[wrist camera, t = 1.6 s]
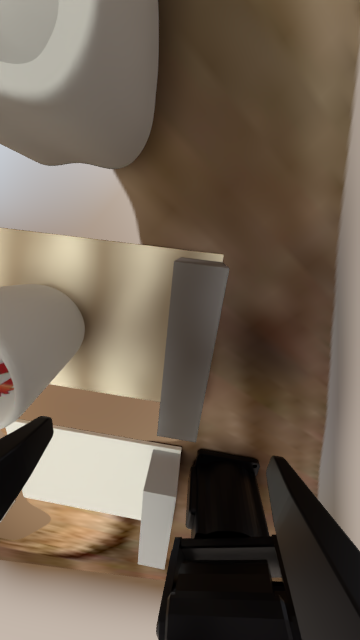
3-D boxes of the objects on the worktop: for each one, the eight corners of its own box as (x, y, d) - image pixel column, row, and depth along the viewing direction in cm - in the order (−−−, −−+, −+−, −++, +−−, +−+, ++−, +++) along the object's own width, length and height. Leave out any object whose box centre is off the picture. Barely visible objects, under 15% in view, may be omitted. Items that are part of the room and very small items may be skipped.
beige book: (223, 254, 15) (231, 258, 11) (196, 405, 20) (194, 447, 16) (-34, 223, 16) (-116, 216, 12) (2, 373, 21) (-47, 405, 17)
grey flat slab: (181, 447, 22) (177, 493, 18) (169, 521, 27) (163, 571, 23) (6, 416, 23) (-36, 454, 19) (26, 493, 28) (-4, 536, 24)
